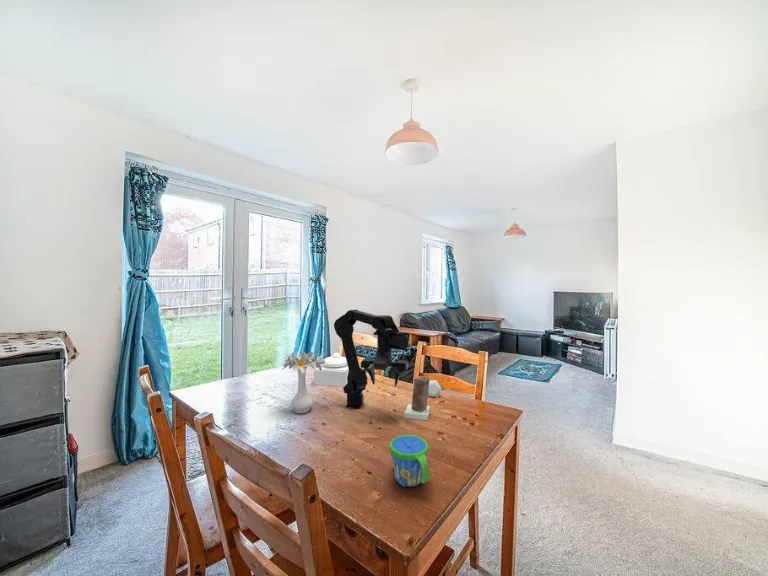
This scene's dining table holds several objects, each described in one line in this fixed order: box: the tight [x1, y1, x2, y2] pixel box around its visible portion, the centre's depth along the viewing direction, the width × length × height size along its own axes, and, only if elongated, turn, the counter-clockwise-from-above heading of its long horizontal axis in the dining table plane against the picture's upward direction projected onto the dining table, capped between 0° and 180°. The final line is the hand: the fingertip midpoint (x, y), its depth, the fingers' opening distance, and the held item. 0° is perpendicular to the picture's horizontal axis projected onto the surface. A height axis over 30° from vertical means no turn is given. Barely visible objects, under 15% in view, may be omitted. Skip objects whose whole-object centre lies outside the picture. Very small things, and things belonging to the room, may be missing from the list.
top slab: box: [403, 403, 431, 421], centre depth 128 cm, size 9×9×2 cm
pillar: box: [411, 375, 431, 412], centre depth 127 cm, size 4×4×12 cm
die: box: [428, 379, 442, 398], centre depth 149 cm, size 8×9×10 cm
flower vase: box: [281, 350, 325, 414], centre depth 135 cm, size 13×18×25 cm
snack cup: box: [388, 434, 430, 488], centre depth 88 cm, size 16×10×10 cm
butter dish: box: [313, 352, 349, 388], centre depth 174 cm, size 18×18×16 cm
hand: (384, 385), depth 128 cm, fingers open, 9 cm apart
